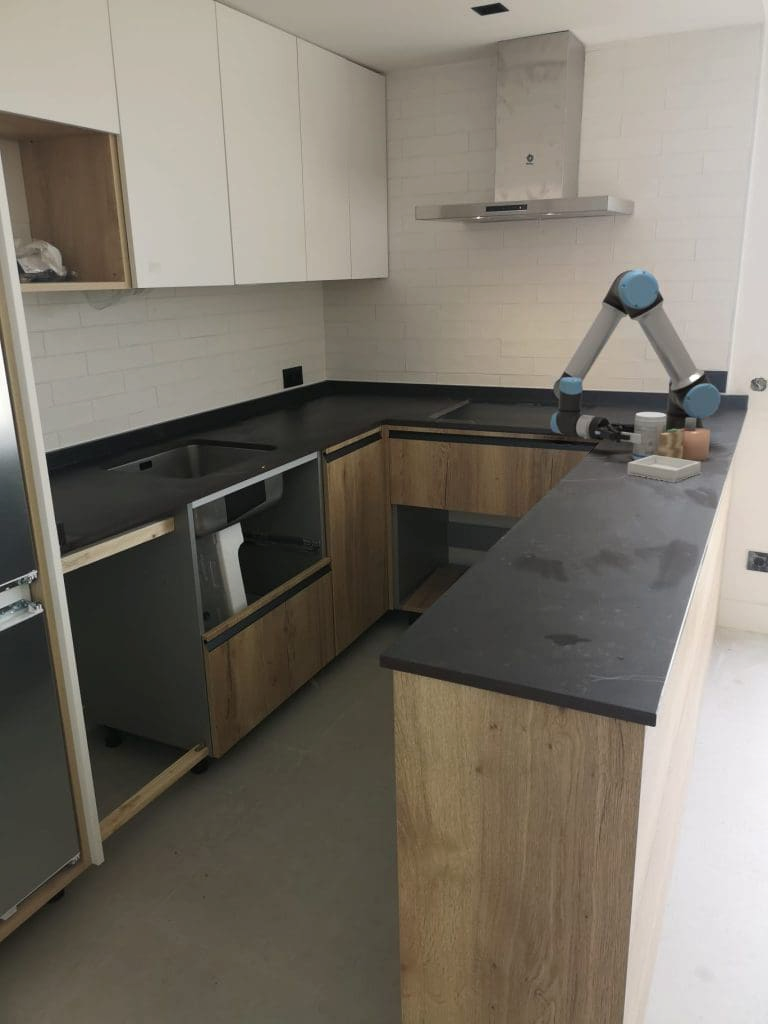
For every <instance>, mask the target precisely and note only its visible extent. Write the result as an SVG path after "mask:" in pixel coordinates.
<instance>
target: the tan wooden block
mask: <svg viewBox="0 0 768 1024" xmlns="http://www.w3.org/2000/svg"><path fill="white" fill-rule="evenodd" d="M684 433H685V430H684V429H670V430H667V432H665V433H662V434H659V446H658V456H665V457H671V458H677V459H682V455H683V444H684Z"/></svg>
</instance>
